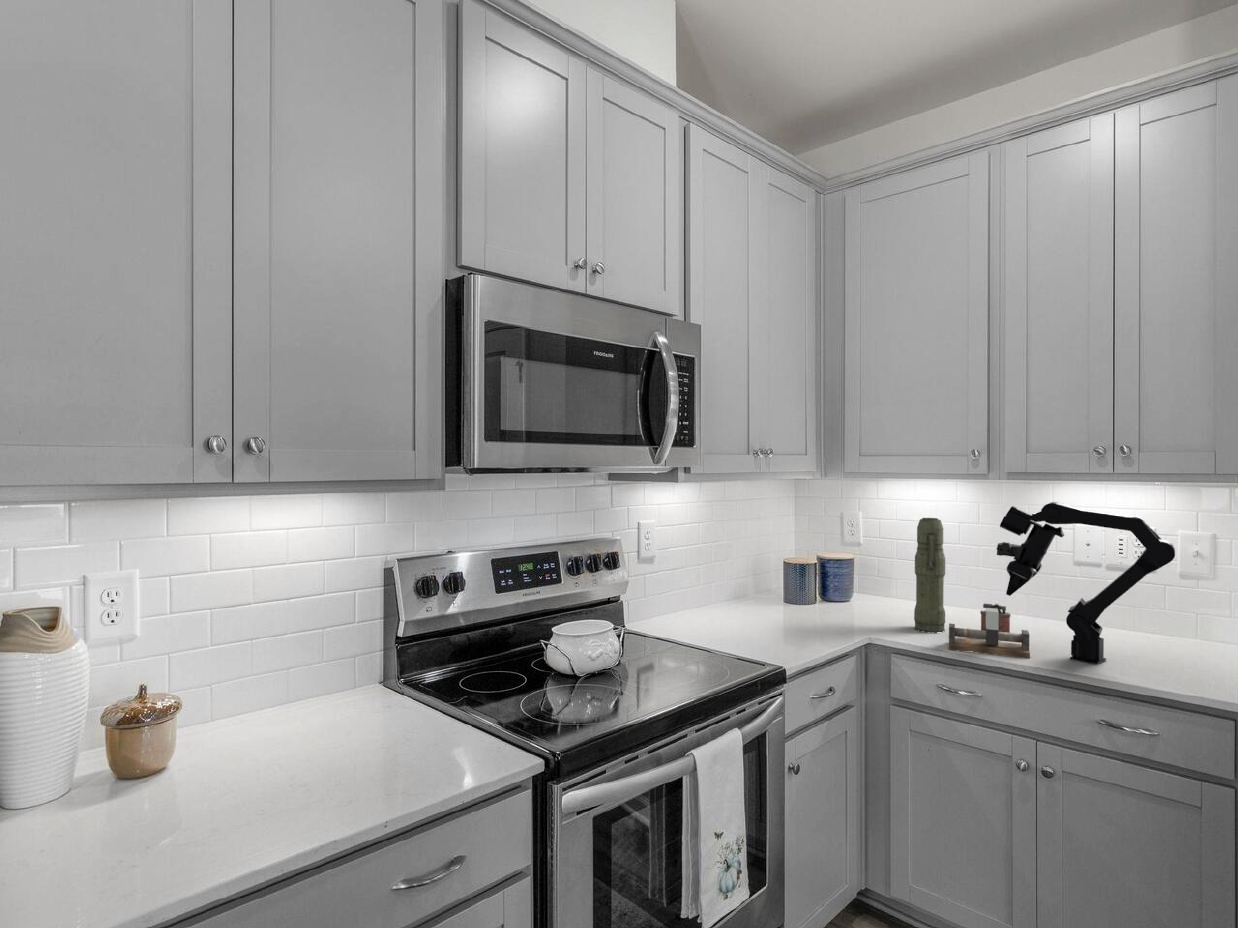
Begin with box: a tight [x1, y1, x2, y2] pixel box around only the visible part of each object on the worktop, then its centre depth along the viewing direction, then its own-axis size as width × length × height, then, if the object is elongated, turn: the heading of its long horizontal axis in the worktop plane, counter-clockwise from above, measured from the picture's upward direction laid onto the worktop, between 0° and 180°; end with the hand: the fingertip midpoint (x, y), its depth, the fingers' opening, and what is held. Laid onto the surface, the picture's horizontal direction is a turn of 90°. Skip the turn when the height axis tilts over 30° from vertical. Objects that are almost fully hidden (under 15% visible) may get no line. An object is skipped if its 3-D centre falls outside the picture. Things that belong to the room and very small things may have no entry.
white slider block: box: [985, 608, 999, 646], centre depth 206 cm, size 3×5×9 cm, turn 155°
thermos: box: [913, 517, 946, 634], centre depth 230 cm, size 9×12×35 cm
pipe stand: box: [948, 622, 1031, 659], centre depth 206 cm, size 20×9×6 cm, turn 65°
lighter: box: [980, 603, 1011, 633], centre depth 220 cm, size 8×3×10 cm, turn 59°
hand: (1010, 592), depth 207 cm, fingers open, 9 cm apart
